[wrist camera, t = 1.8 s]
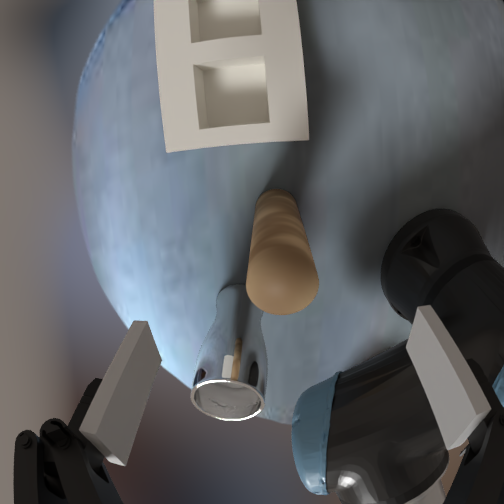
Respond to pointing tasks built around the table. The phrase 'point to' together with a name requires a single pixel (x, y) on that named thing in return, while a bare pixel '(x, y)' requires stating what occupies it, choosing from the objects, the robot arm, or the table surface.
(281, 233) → the oak peg
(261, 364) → the beer glass
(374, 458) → the robot arm
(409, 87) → the table surface
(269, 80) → the square-hole block
